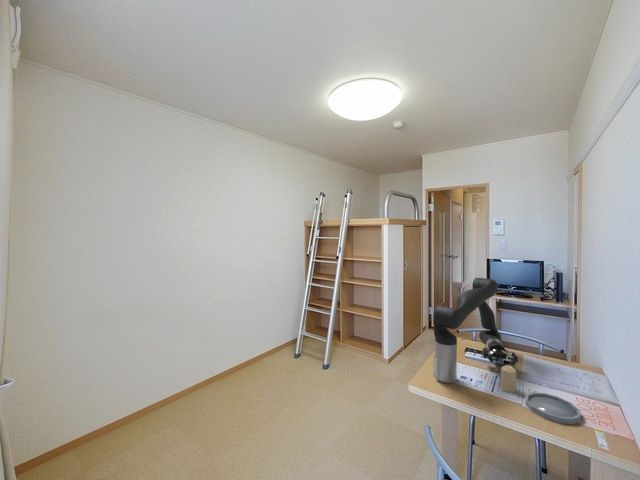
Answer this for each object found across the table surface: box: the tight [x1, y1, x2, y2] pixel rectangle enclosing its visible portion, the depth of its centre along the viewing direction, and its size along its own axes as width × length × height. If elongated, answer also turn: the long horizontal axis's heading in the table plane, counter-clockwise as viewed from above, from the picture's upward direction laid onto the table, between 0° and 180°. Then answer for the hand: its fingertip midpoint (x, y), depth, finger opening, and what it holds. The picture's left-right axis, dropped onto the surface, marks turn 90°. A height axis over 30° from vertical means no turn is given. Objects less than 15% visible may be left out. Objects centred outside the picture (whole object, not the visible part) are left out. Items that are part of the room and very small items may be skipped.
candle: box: [500, 364, 517, 393], centre depth 122 cm, size 6×6×10 cm
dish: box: [524, 391, 582, 425], centre depth 108 cm, size 16×16×2 cm
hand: (502, 362), depth 132 cm, fingers open, 8 cm apart
